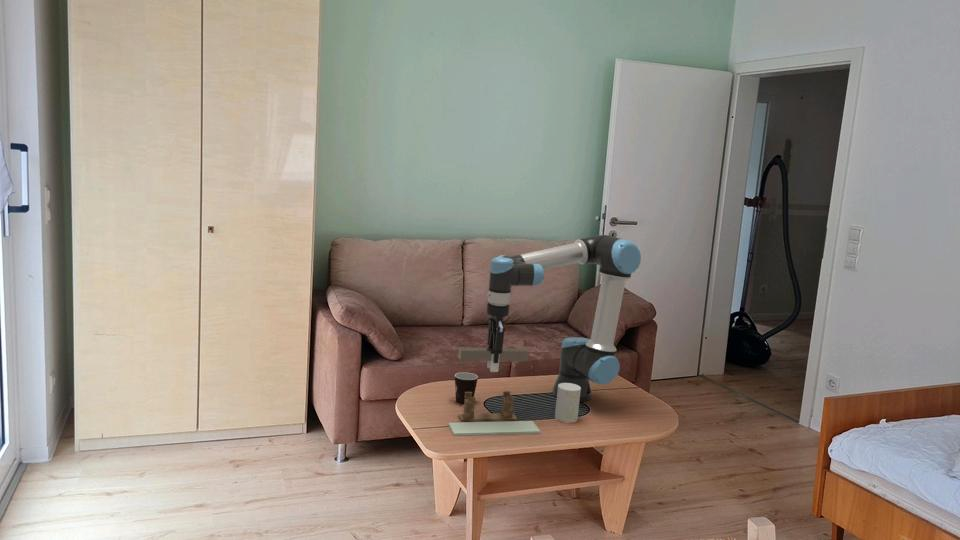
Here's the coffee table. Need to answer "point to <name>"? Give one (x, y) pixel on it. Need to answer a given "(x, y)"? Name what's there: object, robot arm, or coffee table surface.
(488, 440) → the coffee table surface
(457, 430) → the mat
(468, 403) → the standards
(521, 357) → the rail
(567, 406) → the light grey cylinder plug
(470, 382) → the coffee mug
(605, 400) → the coffee table surface
